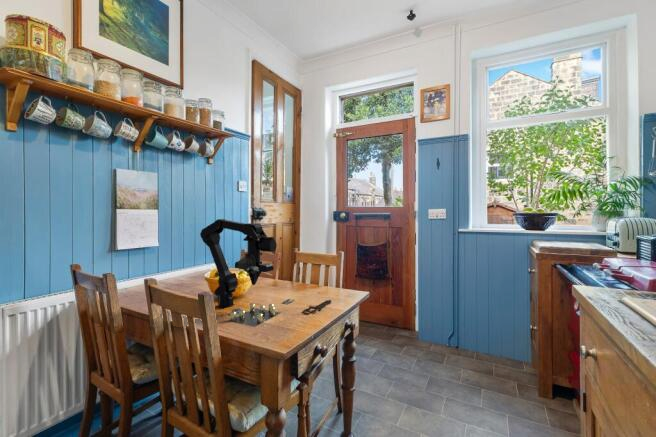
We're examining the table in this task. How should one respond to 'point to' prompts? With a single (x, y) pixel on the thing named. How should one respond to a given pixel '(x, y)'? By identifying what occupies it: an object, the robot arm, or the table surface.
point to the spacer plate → (254, 315)
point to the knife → (316, 307)
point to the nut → (237, 310)
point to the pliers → (287, 302)
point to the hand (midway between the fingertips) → (253, 284)
